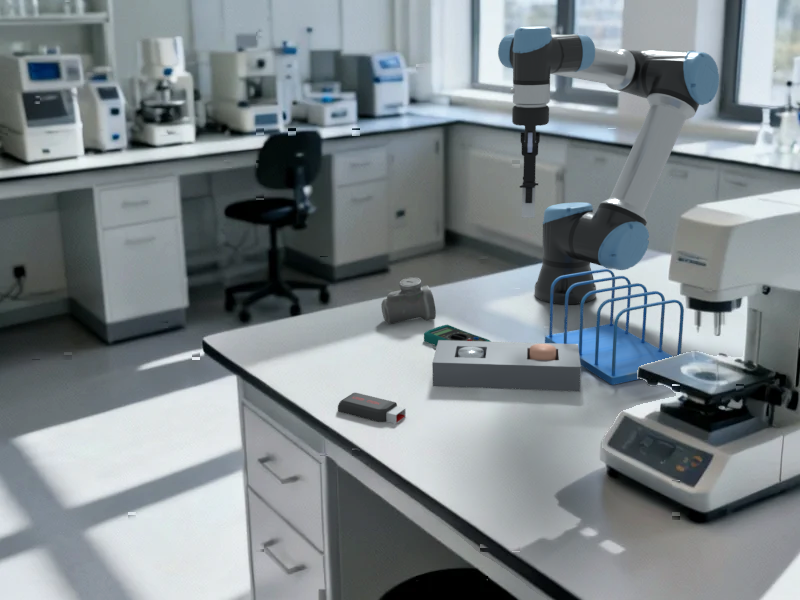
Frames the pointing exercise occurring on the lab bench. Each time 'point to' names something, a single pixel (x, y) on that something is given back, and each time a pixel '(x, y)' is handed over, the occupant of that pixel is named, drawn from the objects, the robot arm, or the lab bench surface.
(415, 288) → the pipe fitting
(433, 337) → the digital multimeter
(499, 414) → the lab bench surface
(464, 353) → the steel plunger
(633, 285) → the file sorter
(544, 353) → the peach rounded dome part
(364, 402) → the usb drive
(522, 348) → the block
